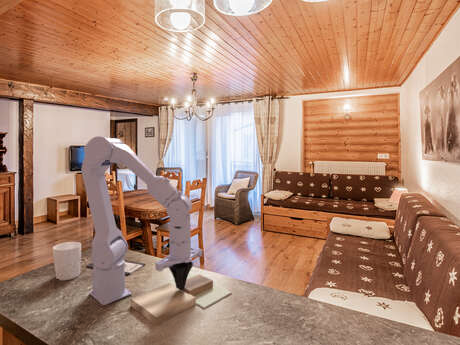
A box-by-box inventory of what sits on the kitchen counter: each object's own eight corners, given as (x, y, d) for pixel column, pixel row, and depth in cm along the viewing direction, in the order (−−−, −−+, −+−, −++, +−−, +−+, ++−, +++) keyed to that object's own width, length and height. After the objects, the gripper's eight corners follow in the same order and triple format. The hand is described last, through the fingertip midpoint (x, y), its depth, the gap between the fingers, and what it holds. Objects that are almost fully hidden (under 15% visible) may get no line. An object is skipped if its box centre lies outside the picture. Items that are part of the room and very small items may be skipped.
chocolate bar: (105, 256, 104) (145, 263, 98) (105, 259, 104) (145, 266, 98) (85, 265, 96) (127, 274, 90) (86, 268, 96) (127, 277, 90)
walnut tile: (175, 290, 79) (175, 283, 79) (199, 280, 86) (199, 274, 86) (189, 297, 75) (189, 290, 75) (212, 287, 82) (213, 280, 82)
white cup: (75, 268, 95) (74, 240, 94) (86, 274, 90) (85, 244, 89) (49, 276, 88) (48, 246, 88) (60, 284, 84) (59, 251, 83)
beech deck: (130, 305, 72) (130, 298, 72) (169, 289, 81) (168, 282, 81) (156, 325, 64) (156, 317, 64) (195, 304, 73) (195, 297, 73)
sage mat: (163, 285, 83) (163, 284, 83) (190, 274, 91) (190, 273, 91) (204, 308, 71) (204, 307, 71) (231, 293, 79) (231, 292, 79)
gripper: (166, 250, 68) (166, 303, 69) (209, 237, 78) (209, 283, 79) (150, 243, 72) (151, 293, 73) (193, 232, 83) (193, 275, 84)
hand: (180, 287), depth 77 cm, fingers closed
